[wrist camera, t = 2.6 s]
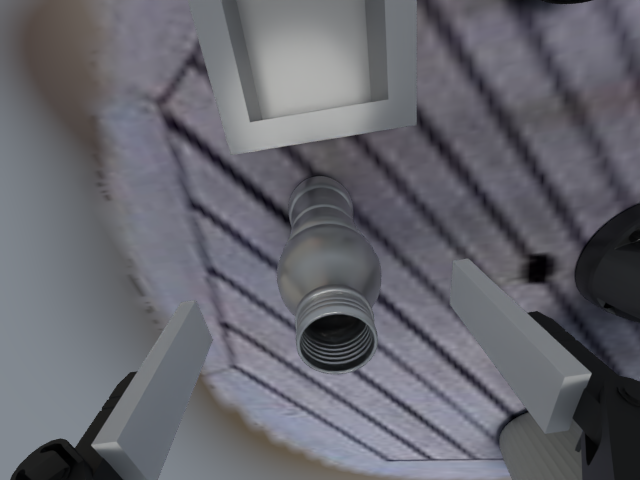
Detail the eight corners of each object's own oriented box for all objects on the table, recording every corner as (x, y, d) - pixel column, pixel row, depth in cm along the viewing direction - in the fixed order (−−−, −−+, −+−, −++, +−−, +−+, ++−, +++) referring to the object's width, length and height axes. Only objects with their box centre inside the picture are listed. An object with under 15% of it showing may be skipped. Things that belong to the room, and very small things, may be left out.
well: (391, 121, 27) (416, 125, 20) (248, 144, 27) (230, 155, 21) (383, -80, 21) (416, -162, 14) (201, -47, 21) (156, -112, 15)
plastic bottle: (342, 164, 28) (401, 261, 10) (354, 223, 31) (418, 381, 13) (281, 180, 29) (237, 299, 11) (299, 237, 32) (288, 407, 14)
